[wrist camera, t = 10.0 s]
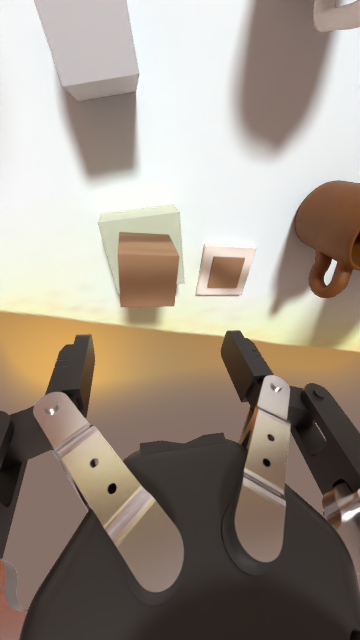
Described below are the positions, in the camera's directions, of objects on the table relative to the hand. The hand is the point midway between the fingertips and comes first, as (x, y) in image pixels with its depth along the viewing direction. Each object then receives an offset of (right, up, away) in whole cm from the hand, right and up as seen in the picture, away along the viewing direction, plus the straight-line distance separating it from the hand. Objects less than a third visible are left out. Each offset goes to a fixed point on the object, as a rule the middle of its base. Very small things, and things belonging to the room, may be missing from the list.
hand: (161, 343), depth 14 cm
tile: (+7, +8, +18) cm, 21 cm away
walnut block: (-3, +8, +11) cm, 14 cm away
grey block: (-5, +22, +4) cm, 23 cm away
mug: (+19, +13, +17) cm, 28 cm away
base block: (-3, +11, +14) cm, 18 cm away
